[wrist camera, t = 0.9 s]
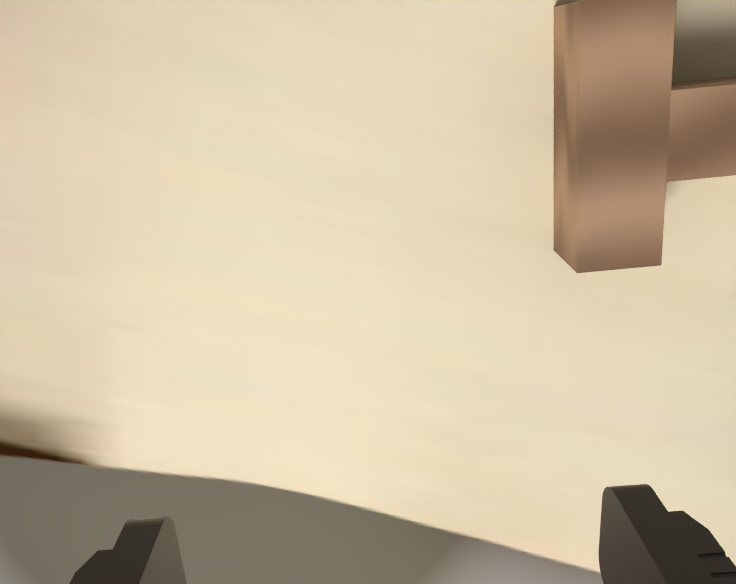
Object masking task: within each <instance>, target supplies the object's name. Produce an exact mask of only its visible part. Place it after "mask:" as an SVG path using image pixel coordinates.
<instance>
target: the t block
mask: <svg viewBox="0 0 736 584" xmlns="http://www.w3.org/2000/svg"><path fill="white" fill-rule="evenodd" d="M675 14H676V0H579V1H575V2H571V3H567V4H563V5H559V6H555V7H554V251H555V252H556V253H557V254H558V255H559V256H560V257H561V258H562V259H563V260H564V261H565V262H566V263H567V264H568V265H569V266H570V267H571V268H572V269H573V270H575V271H576V272H577V273H583V272H593V271H604V270H615V269H626V268H637V267H647V266H658V265H661V260H662V242H663V225H664V207H665V190H666V182H668V181H679V180H689V179H700V178H710V177H721V176H731V175H736V77H729V78H718V79H708V80H698V81H687V82H677V83H672V67H673V49H674V32H675Z"/></svg>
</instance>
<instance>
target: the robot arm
mask: <svg viewBox="0 0 736 584" xmlns="http://www.w3.org/2000/svg"><path fill="white" fill-rule="evenodd" d="M599 565H600V571H601V576H602V579H603V583H604V584H736V566H735V565H734V564H733V562H732V561H731V560H730V558H729V557H726V555H725V551H724V550H723V549H722V547H721V546H720V545H719V543H718V542H717V540H716V539H715V538H714V536H713V535H712V534H711V532H710V531H709V530H708V529H707V528H706V527H704V526H703V525H701V524H700V523H699V522H697V521H696V520H695V519H693V518H692V517H690V516H689V515H688V514H686V513H685V512H684V511H672V512H668V511H667V510H666V508H665V507H664V505H663V504H662V502H661V501H660V499H659V498H658V496H657V495H656V493H655V492H654V490H653V489H652V488H651V487H650V486H649V485H647V484H641V485H627V486H613V487H606V488H605V489H604V491H603V497H602V511H601V526H600V541H599ZM70 584H186V579H185V574H184V569H183V564H182V560H181V555H180V550H179V545H178V540H177V536H176V531H175V526H174V523H173V520H172V518H171V517H156V518H141V519H130V520H128V521H127V522H126V523H125V525H124V527H123V529H122V531H121V533H120V535H119V537H118V540H117V542H116V544H115V546H114V548H113V550H101V551H100V550H99V551H97V552H96V553H95V554H94V555H93V556H92V557H91V558H90V559H89V560H88V561H87V562H86V563H85V564H84V565H83V566H82V567H81V568H80V569H79V570H78V571H77V572H76V573H75V574H74V576H73V578H72V580H71V582H70Z"/></svg>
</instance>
